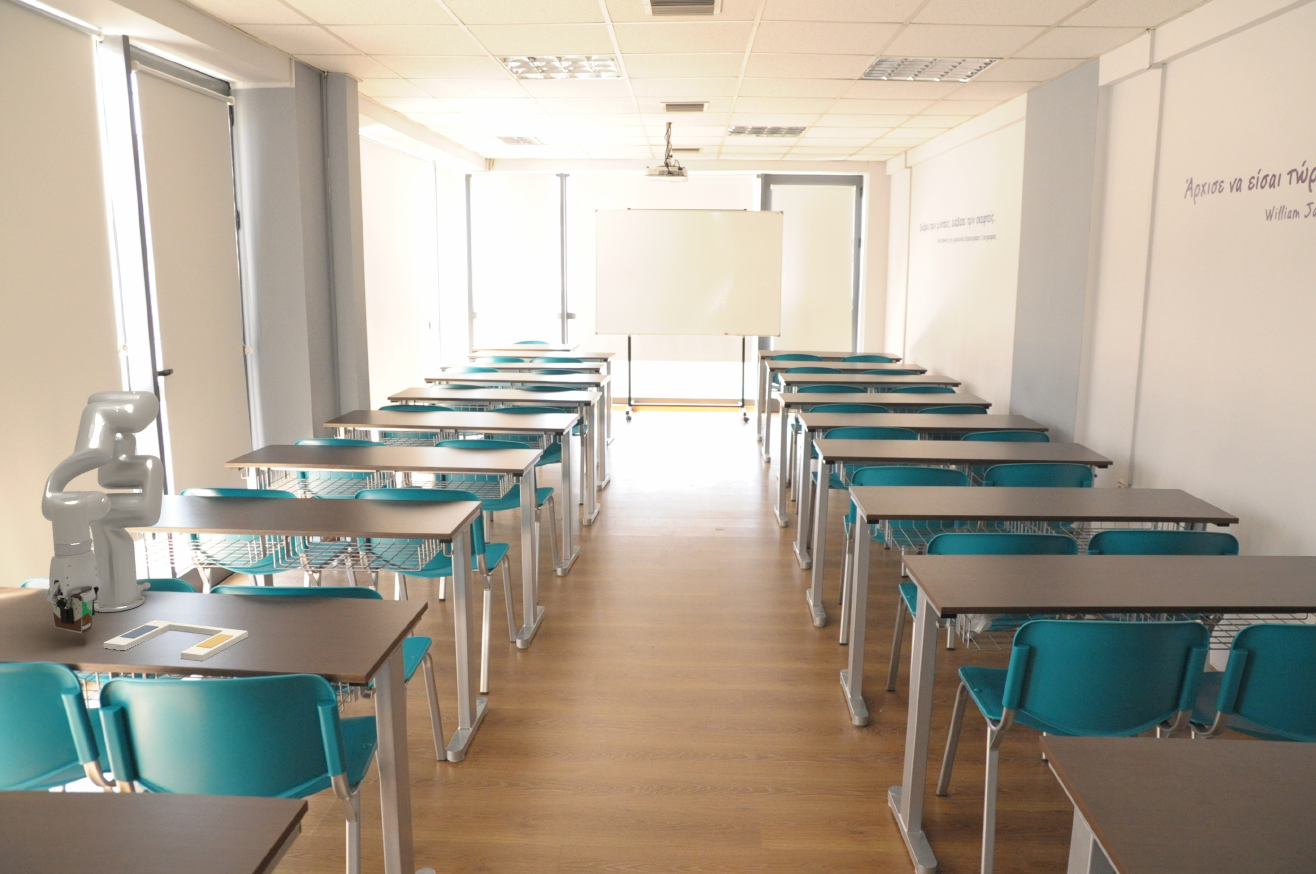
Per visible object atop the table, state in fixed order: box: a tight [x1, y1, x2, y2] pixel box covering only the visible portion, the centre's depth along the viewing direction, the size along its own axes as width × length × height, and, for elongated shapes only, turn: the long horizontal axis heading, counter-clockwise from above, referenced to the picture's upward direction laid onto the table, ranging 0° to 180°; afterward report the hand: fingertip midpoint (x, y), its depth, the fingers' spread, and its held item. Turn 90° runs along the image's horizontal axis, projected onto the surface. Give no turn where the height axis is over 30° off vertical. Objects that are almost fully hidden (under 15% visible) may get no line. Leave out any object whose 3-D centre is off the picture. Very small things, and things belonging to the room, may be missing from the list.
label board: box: [103, 619, 249, 662], centre depth 219 cm, size 16×28×2 cm, turn 77°
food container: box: [47, 586, 97, 634], centre depth 217 cm, size 12×6×10 cm, turn 70°
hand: (78, 618), depth 217 cm, fingers closed on food container, 5 cm apart
